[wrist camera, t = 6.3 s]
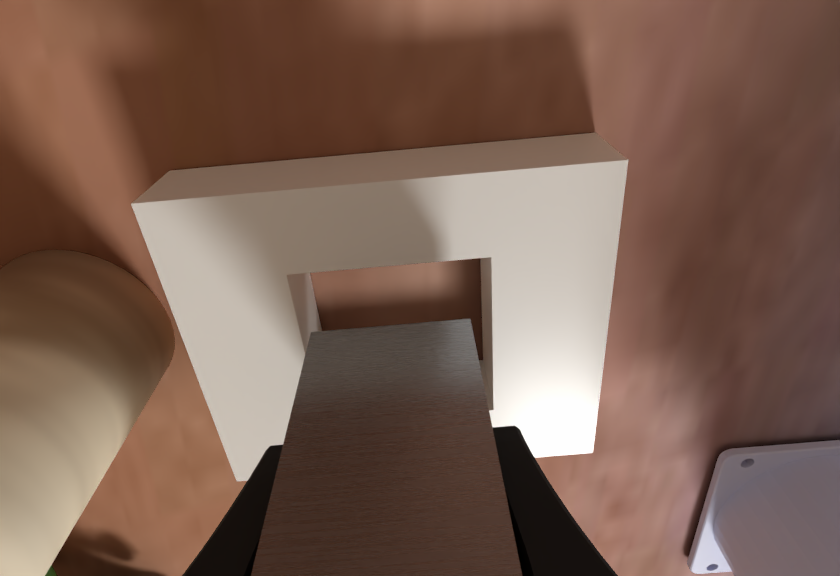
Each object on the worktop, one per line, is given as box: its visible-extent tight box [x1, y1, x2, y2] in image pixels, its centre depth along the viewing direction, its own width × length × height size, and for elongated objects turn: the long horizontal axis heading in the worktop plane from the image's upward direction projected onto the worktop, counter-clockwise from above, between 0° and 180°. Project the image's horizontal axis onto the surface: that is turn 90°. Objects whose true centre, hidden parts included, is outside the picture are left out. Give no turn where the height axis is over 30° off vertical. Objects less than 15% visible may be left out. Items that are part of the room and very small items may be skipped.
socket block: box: [131, 133, 628, 481], centre depth 16 cm, size 12×10×2 cm
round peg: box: [0, 250, 175, 576], centre depth 14 cm, size 6×6×8 cm
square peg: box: [251, 319, 522, 576], centre depth 11 cm, size 4×4×8 cm
